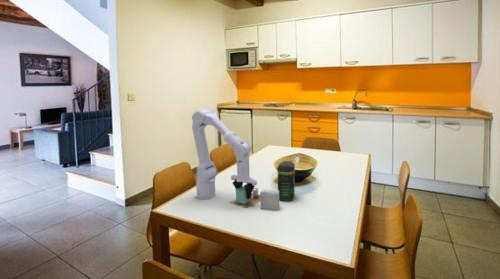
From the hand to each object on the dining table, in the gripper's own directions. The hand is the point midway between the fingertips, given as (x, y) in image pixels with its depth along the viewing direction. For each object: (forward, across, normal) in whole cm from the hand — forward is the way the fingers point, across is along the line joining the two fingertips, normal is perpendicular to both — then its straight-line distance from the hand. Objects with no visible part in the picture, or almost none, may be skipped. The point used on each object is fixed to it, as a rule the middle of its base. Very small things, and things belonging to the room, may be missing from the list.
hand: (244, 197), depth 141 cm
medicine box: (+4, +13, +3) cm, 14 cm away
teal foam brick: (+2, 0, 0) cm, 2 cm away
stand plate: (+4, 0, +4) cm, 5 cm away
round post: (+3, 0, +8) cm, 8 cm away
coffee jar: (+4, +12, +17) cm, 21 cm away
